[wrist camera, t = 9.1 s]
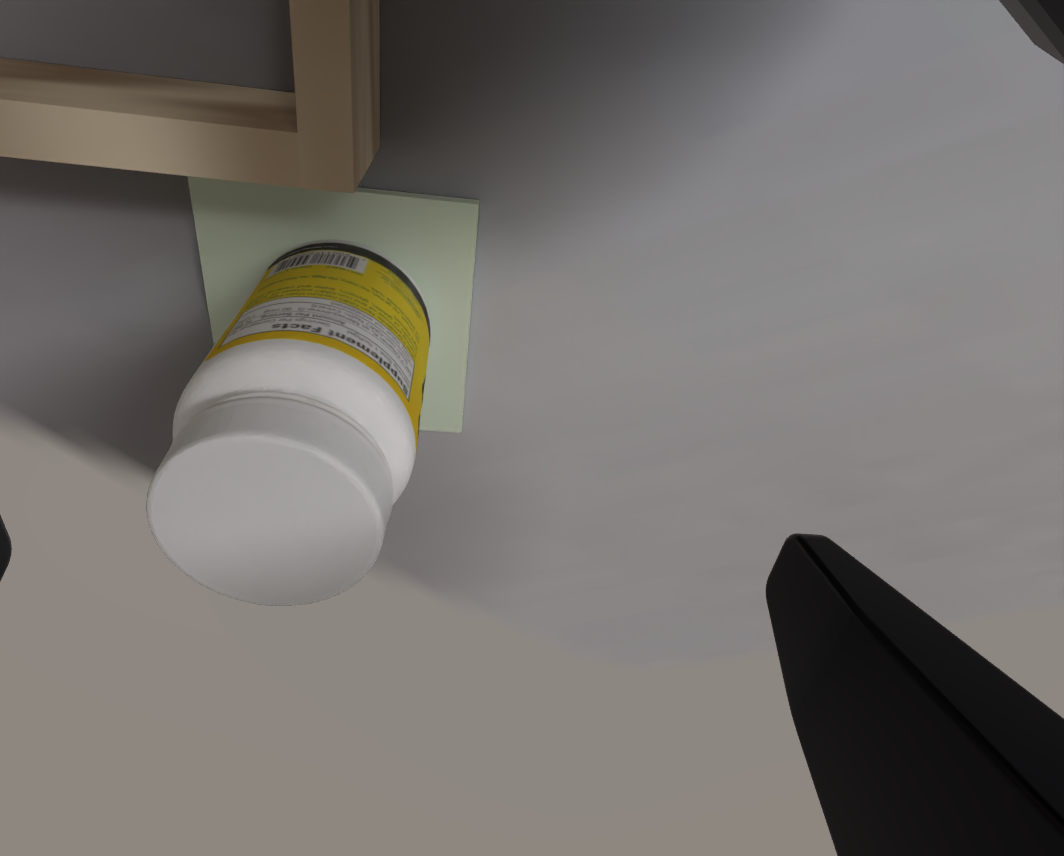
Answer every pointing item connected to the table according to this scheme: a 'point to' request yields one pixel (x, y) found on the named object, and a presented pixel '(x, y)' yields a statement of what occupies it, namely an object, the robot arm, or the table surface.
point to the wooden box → (214, 111)
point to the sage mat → (363, 217)
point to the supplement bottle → (297, 430)
